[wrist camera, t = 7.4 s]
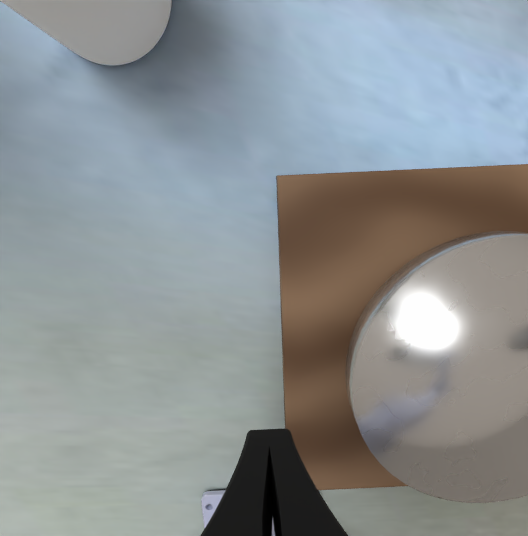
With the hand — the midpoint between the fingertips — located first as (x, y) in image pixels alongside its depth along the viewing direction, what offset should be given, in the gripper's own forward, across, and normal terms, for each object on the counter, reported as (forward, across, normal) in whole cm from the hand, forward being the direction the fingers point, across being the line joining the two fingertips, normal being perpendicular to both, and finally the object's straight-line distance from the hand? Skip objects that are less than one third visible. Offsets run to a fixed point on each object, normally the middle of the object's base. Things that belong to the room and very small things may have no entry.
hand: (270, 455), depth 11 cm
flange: (+6, -12, 0) cm, 14 cm away
